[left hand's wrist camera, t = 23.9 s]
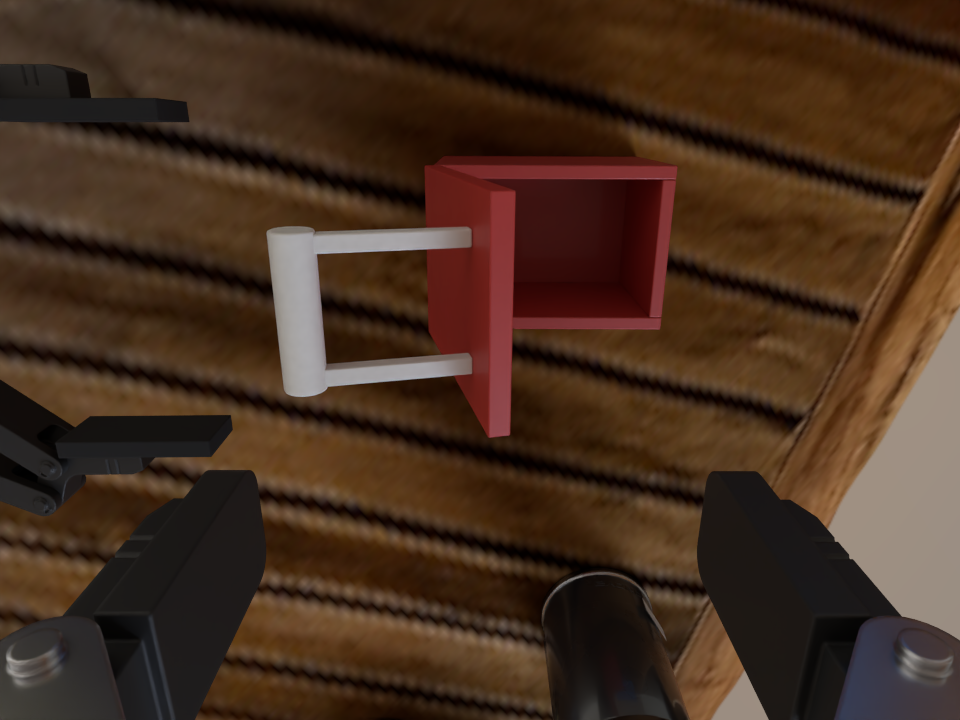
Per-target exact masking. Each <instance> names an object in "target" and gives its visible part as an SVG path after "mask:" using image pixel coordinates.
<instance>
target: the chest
mask: <svg viewBox="0 0 960 720" xmlns="http://www.w3.org/2000/svg"><path fill="white" fill-rule="evenodd" d="M435 165H441V166H444V167H447V168H450V169H453V170H456V171H459V172H462V173H465V174H468V175H471V176H474V177H477V178H480V179H483V180H486V181H489V182H492V183H494V184H497V185H500V186H503V187H506V188H509V189H512V190H515V192H516V196H515V241H514V285H513V329H660V325H661V315H662V306H663V297H664V287H665V278H666V268H667V259H668V250H669V240H670V231H671V222H672V212H673V203H674V194H675V184H676V180H675V179H676V176H677V166H676V165H672V164H667V163H663V162H658V161H654V160H649V159H645V158H640V157H595V156H443V157H442V158H441V159H440V160H439V161H438V162H437V163H436V164H435Z"/></svg>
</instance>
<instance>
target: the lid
mask: <svg viewBox="0 0 960 720" xmlns="http://www.w3.org/2000/svg"><path fill="white" fill-rule="evenodd" d="M515 196H516V192H515V190H512V189H509V188H506V187H503V186H500V185H497V184H494V183H492V182H489V181H486V180H483V179H480V178H477V177H474V176H471V175H468V174H465V173H462V172H459V171H456V170H453V169H450V168H447V167H444V166H441V165H426V166H425V200H426V228H411V229H382V230H352V231H323V232H315V231H314V229H313V228H310V227H302V226H289V227H278V228H273V229H270V230H268V231H267V241H268V250H269V259H270V268H271V277H272V286H273V295H274V304H275V313H276V322H277V331H278V340H279V348H280V357H281V366H282V375H283V384H284V391H285V392H286V393H287V394H288V395H291V396H297V397H306V396H313V395H317V394H320V393H322V392H324V391H325V390H326V389H327V387H329V386H340V385H351V384H363V383H374V382H386V381H397V380H408V379H420V378H431V377H443V376H454V377H455V379H456V381H457V382H458V384H459V386H460V388H461V390H462V391H463V393H464V395H465V397H466V398H467V400H468V402H469V404H470V406H471V407H472V409H473V411H474V413H475V414H476V416H477V418H478V420H479V422H480V423H481V425H482V427H483V429H484V431H485V432H486V434H487V436H488V437H489V438H490V437H499V436H508V435H510V419H511V374H512V330H513V285H514V241H515ZM423 249H427V279H428V318H429V333H430V334H431V336H432V338H433V340H434V341H435V343H436V345H437V347H438V349H439V350H440V352H441V354H442V355H434V356H422V357H409V358H397V359H384V360H372V361H359V362H347V363H334V364H326V355H325V343H324V332H323V320H322V308H321V297H320V285H319V273H318V262H317V254H327V253H351V252H375V251H399V250H423Z"/></svg>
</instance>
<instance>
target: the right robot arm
mask: <svg viewBox="0 0 960 720" xmlns="http://www.w3.org/2000/svg"><path fill="white" fill-rule="evenodd" d="M0 121H8V122H189V117H188V109H187V102H183V101H175V100H166V99H158V98H91V94H90V89H89V83H88V78H87V74H85V73H83V72H80V71H78V70H75V69H73V68H68V67H62V66H56V65H50V64H35V65H33V64H23V65H22V64H0ZM232 430H233V428H232V421H231V415H192V416H90V417H89V418H87V419H86V420H85V421H83V422H82V423H81V424H79V425H78V426H77V427H73V426H72V425H70V424H69V423H67V422H66V421H64V420H63V419H61V418H59V417H58V416H56V415H55V414H53V413H52V412H50V411H48V410H47V409H45V408H44V407H42V406H41V405H39V404H37V403H36V402H34V401H33V400H31V399H30V398H28V397H27V396H25V395H23V394H22V393H20V392H19V391H17V390H16V389H14V388H12V387H11V386H9V385H8V384H6V383H5V382H3V381H2V380H0V501H2V502H5V503H8V504H10V505H13V506H16V507H18V508H21V509H24V510H26V511H29V512H32V513H35V514H37V515H41V516H49V515H51V514H53V513H54V512H55V511H56V510H57V509H58V508H59V507H60V506H62V505H63V504H64V503H65V502H66V501H67V500H68V499H69V498H70V497H71V496H72V495H74V494H75V493H76V492H77V491H78V490H79V489H80V488H81V487H82V486H83V485H84V484H85V482H86V476H85V475H100V474H134V473H137V472H139V471H142V470H144V469H145V468H146V467H147V466H148V464H149V463H150V462H151V461H152V460H153V459H154V458H155V457H211V456H212V455H213V454H214V453H215V451H216V450H217V449H218V448H219V446H220V445H221V444H222V443H223V441H224V440H225V439H226V438H227V436H228V435H229V434H230V433H231V431H232ZM51 447H52V448H51Z"/></svg>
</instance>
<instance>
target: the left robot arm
mask: <svg viewBox="0 0 960 720" xmlns="http://www.w3.org/2000/svg"><path fill="white" fill-rule="evenodd" d="M697 560H698V568H699V573H700V577H701V580H702V582H703V585H704V587H705V589H706V591H707V593H708V595H709V597H710V599H711V601H712V603H713V605H714V607H715V609H716V611H717V613H718V616H719V618H720V620H721V622H722V624H723V626H724V628H725V630H726V632H727V634H728V636H729V638H730V640H731V642H732V644H733V647H734V649H735V651H736V653H737V655H738V657H739V659H740V661H741V663H742V665H743V667H744V669H745V671H746V673H747V675H748V677H749V680H750V682H751V684H752V686H753V688H754V690H755V692H756V694H757V696H758V698H759V700H760V702H761V704H762V706H763V708H764V710H765V713H766V715H767V717H768V719H769V720H960V640H958V639H957V638H955V637H953V636H952V635H950V634H948V633H947V632H945V631H943V630H941V629H939V628H937V627H934V626H932V625H930V624H927V623H924V622H921V621H918V620H915V619H911V618H906V617H902V616H901V615H900V614H899V613H898V612H897V610H896V609H895V608H894V607H893V606H892V605H891V603H890V602H889V601H888V600H887V599H886V598H885V596H884V595H883V594H882V593H881V592H880V591H879V589H878V588H877V587H876V586H875V585H874V583H873V582H872V581H871V580H870V579H869V578H868V576H867V575H866V574H865V573H864V572H863V571H862V569H861V568H860V567H859V566H858V565H857V564H856V562H855V561H854V560H853V559H849V554H848V553H847V552H846V551H845V550H844V548H843V547H842V546H841V545H840V544H839V542H835V540H834V537H833V536H832V534H831V533H830V532H829V531H828V530H827V528H826V527H825V526H824V525H823V524H822V523H821V521H820V520H819V519H818V518H817V517H816V516H814V515H813V514H811V513H810V512H808V511H807V510H805V509H803V508H802V507H800V506H799V505H797V504H796V503H794V502H793V501H791V500H780V499H779V498H778V496H777V495H776V494H775V493H774V491H773V490H772V489H771V488H770V486H769V485H768V484H767V482H766V481H765V480H764V479H763V477H762V476H761V475H760V474H759V473H758V472H755V471H713V472H711V473H710V474H709V476H708V479H707V482H706V488H705V495H704V502H703V509H702V516H701V523H700V531H699V538H698V545H697ZM265 561H266V542H265V534H264V527H263V520H262V513H261V506H260V499H259V491H258V484H257V479H256V476H255V474H254V473H253V471H251V470H208V471H206V472H205V473H204V474H203V475H202V476H201V477H200V479H199V480H198V481H197V482H196V484H195V485H194V486H193V488H192V489H191V490H190V491H189V493H188V494H187V495H186V496H185V498H184V499H172V500H171V501H169V502H168V503H166V504H165V505H163V506H162V507H160V508H159V509H157V510H156V511H154V512H152V513H151V514H149V515H148V516H147V517H146V518H145V519H144V520H143V521H142V523H141V524H140V525H139V526H138V527H137V529H136V530H135V531H134V532H133V533H132V534H131V536H130V540H126V542H125V543H124V544H123V545H122V546H121V547H120V549H119V550H118V551H117V552H116V556H115V558H111V559H110V560H109V562H108V563H107V564H106V565H105V566H104V568H103V569H102V570H101V571H100V572H99V573H98V575H97V576H96V577H95V578H94V579H93V581H92V582H91V583H90V584H89V585H88V586H87V588H86V589H85V590H84V591H83V592H82V594H81V595H80V596H79V597H78V598H77V599H76V601H75V602H74V603H73V604H72V605H71V607H70V608H69V609H68V610H67V611H66V612H65V614H64V615H63V616H60V617H54V618H49V619H45V620H42V621H39V622H36V623H33V624H30V625H28V626H26V627H23V628H21V629H19V630H17V631H15V632H13V633H11V634H10V635H8V636H7V637H5V638H3V639H2V640H0V720H195V718H196V716H197V714H198V712H199V709H200V707H201V705H202V703H203V701H204V699H205V697H206V695H207V693H208V691H209V689H210V686H211V684H212V682H213V680H214V678H215V676H216V674H217V672H218V670H219V668H220V666H221V663H222V661H223V659H224V657H225V655H226V653H227V651H228V649H229V647H230V645H231V643H232V640H233V638H234V636H235V634H236V632H237V630H238V628H239V626H240V624H241V622H242V620H243V617H244V615H245V613H246V611H247V609H248V607H249V605H250V603H251V601H252V599H253V597H254V594H255V592H256V590H257V588H258V586H259V584H260V582H261V579H262V576H263V573H264V568H265ZM541 619H542V627H543V631H544V633H545V638H544V648H545V656H546V664H547V672H548V680H549V688H550V697H551V705H552V713H553V720H690V718H689V716H688V713H687V710H686V707H685V704H684V701H683V698H682V696H681V693H680V690H679V687H678V684H677V681H676V679H675V676H674V673H673V670H672V667H671V664H670V661H669V659H668V656H667V653H666V650H665V647H664V644H663V641H662V639H661V636H660V633H659V630H660V631H661V633H662V635H663V636H664V638H665V639H666V637H665V635H664V632H663V629H662V627H661V626H660V624H659V623H658V621H657V620H656V618H655V616H654V615H653V613H652V607H651V603H650V600H649V598H648V595H647V593H646V591H645V589H644V588H643V587H642V585H641V584H640V583H639V582H638V581H637V580H635V579H634V578H633V577H631V576H630V575H628V574H626V573H624V572H621V571H618V570H614V569H609V568H589V569H584V570H580V571H577V572H574V573H572V574H569V575H567V576H566V577H564V578H562V579H561V580H560V581H558V582H557V583H556V584H555V585H554V586H553V587H552V588H551V589H550V590H549V592H548V593H547V595H546V597H545V599H544V601H543V604H542V609H541ZM658 628H659V630H658ZM666 641H667V640H666Z"/></svg>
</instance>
